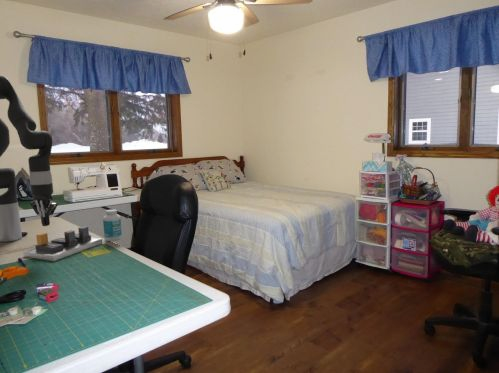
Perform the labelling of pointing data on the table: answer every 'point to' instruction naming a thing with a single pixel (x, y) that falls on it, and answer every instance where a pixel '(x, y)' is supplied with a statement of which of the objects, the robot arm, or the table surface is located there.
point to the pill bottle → (112, 226)
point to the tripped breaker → (42, 238)
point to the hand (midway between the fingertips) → (46, 225)
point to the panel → (52, 257)
